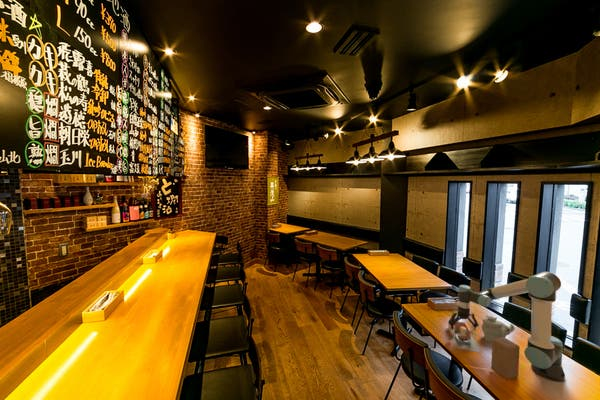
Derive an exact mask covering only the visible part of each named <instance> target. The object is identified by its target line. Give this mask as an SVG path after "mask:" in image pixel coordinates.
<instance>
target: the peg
mask: <svg viewBox="0 0 600 400" xmlns="http://www.w3.org/2000/svg"><path fill="white" fill-rule="evenodd" d="M459 340H464V341H466V328H465V327H463V326H460V339H459Z"/></svg>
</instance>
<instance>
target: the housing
mask: <svg viewBox="0 0 600 400" xmlns="http://www.w3.org/2000/svg"><path fill="white" fill-rule="evenodd" d="M454 326H455V330H458V331H460V326H463V327H465V328H466V335H467V337H468V338H469V340H471V335H472V334H471V328H470V326H469V325H468V324H467V322H465V321H460V320H459V321H458V322H457V323H456V324H455V325H454ZM447 328H448V329H449V331H450V333H451V335H452V337H454V334H453V333H452V329H451V325H450V324H449V323H448V327H447Z"/></svg>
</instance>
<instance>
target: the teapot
mask: <svg viewBox="0 0 600 400" xmlns="http://www.w3.org/2000/svg"><path fill="white" fill-rule="evenodd" d="M497 319H498V317H494V316H493V315H485V317H483V318H482V324H481V330H482V332H483V336H484V340H485V342H489V343H492V340H493V339H497V338H502V337H504V338H506V337H507V336H508V335H510V334H511V333H513V332H514V331H515V329H516V328H515V325H514V324H513V323H510V326H508V325H507V324H506V323H505V322H502V321H500V320H497Z"/></svg>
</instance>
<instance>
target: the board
mask: <svg viewBox="0 0 600 400" xmlns="http://www.w3.org/2000/svg"><path fill="white" fill-rule="evenodd" d="M446 330H447V332H448V334H449V336H450V338H451V340H452V342H453V344H454V346H455V348H456V349H458V350H464V351H465V350H466V351H472V352H476V353H477V352H478V353H483V351H482V349H481V348H480V346H479V345H478V343H477V341H476V339H475V338H474V336H473V335H472V334H471V340H470V342H471V345H468V344H461V343H458V342H457V340H456V338H455V335H454V337H452V335H451V333H450V331H449V329H448V327H446ZM455 334H457V335H460V331H458V330H455ZM466 336H467V335H466ZM459 339H460V338H459ZM468 339H469V338H468ZM466 341H467V340H466Z"/></svg>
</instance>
